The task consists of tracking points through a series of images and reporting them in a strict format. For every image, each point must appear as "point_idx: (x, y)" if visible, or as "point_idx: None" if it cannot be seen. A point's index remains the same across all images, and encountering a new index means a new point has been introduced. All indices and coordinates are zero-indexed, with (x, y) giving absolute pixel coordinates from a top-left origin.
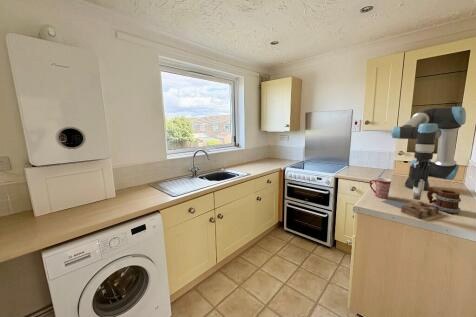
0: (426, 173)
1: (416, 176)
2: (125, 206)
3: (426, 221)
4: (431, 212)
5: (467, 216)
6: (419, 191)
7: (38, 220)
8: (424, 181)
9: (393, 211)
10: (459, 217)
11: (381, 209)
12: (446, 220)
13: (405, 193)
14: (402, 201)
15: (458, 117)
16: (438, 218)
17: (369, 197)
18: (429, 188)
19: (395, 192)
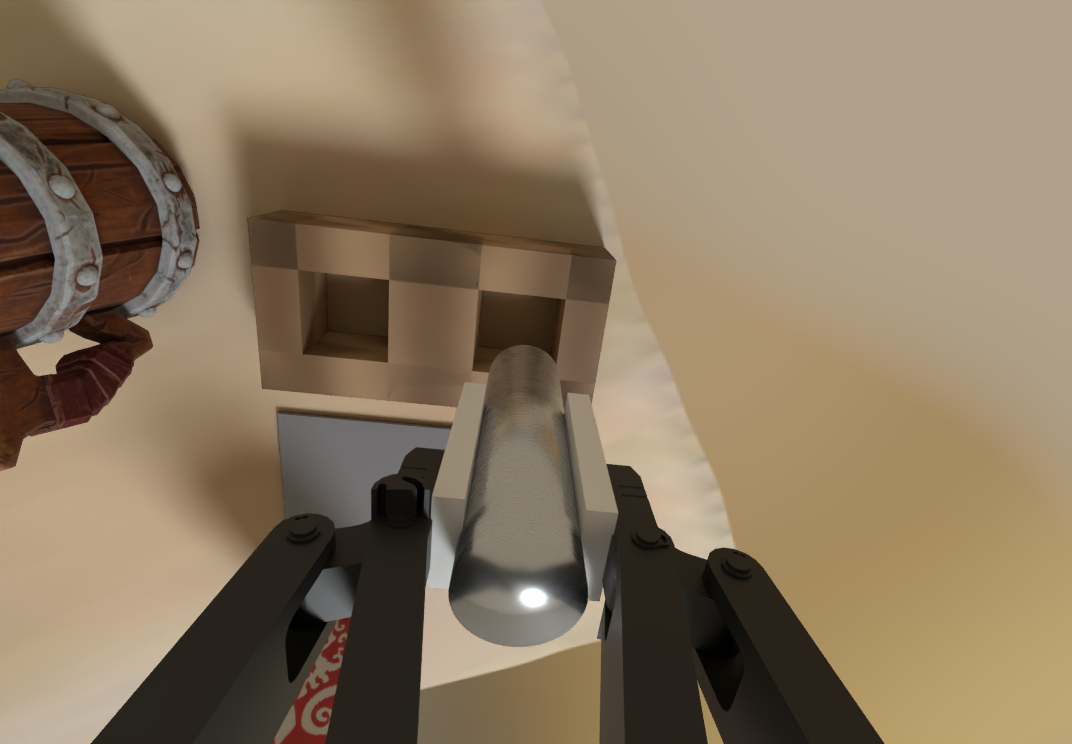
0: (247, 690)
1: (829, 677)
2: None
3: (593, 191)
4: (400, 229)
5: (44, 11)
6: (553, 406)
7: None
8: (435, 497)
9: (610, 430)
10: (168, 51)
11: (653, 493)
12: (390, 96)
13: (38, 579)
14: (299, 498)
15: None
16: (410, 160)
17: (468, 654)
18: (10, 447)
19: (112, 626)
